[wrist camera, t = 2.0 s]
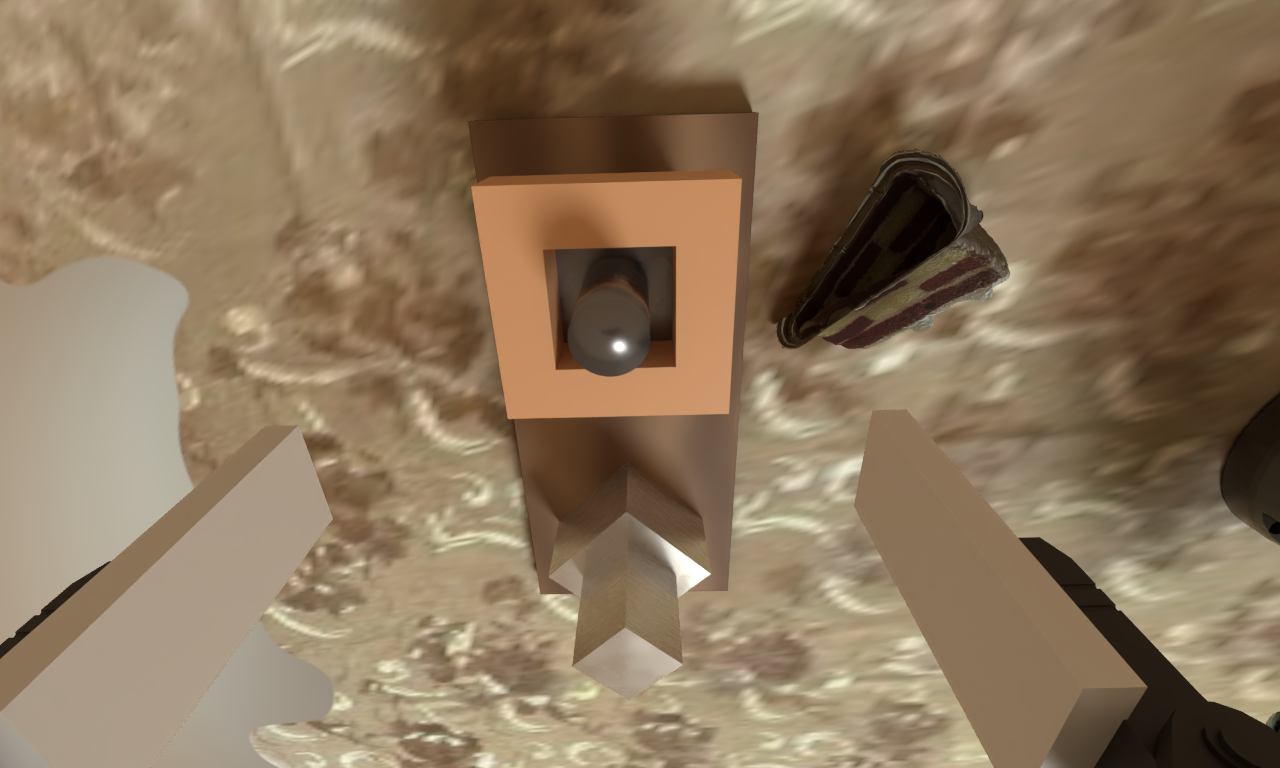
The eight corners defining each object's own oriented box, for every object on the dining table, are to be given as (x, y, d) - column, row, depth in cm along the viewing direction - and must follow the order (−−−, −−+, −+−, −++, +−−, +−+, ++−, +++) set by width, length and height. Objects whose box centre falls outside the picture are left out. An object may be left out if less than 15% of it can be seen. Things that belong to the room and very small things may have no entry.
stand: (684, 191, 28) (708, 239, 18) (683, 320, 31) (703, 420, 21) (547, 195, 28) (498, 244, 18) (560, 323, 31) (524, 424, 21)
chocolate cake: (851, 385, 36) (1067, 349, 25) (770, 354, 32) (982, 298, 22) (859, 254, 38) (1060, 172, 28) (785, 212, 35) (982, 103, 25)
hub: (627, 460, 36) (623, 596, 26) (702, 518, 38) (724, 663, 28) (559, 521, 38) (530, 667, 28) (633, 572, 40) (630, 724, 30)
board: (753, 112, 28) (758, 112, 26) (724, 575, 42) (727, 590, 41) (476, 120, 28) (468, 121, 27) (543, 578, 42) (540, 594, 41)
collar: (730, 169, 23) (742, 178, 20) (720, 383, 27) (728, 413, 25) (490, 176, 23) (470, 186, 20) (520, 388, 28) (507, 418, 25)
